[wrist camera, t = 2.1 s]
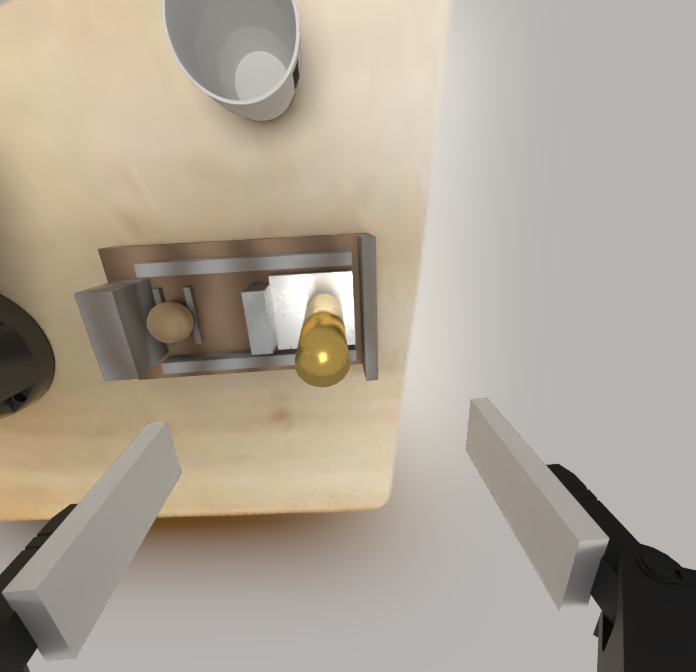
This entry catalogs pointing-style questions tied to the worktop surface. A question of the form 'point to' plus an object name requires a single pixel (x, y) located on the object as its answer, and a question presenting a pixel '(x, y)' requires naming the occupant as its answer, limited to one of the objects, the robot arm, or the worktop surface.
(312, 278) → the lever
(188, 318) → the nut
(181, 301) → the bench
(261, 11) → the cup
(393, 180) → the worktop surface
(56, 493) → the worktop surface
